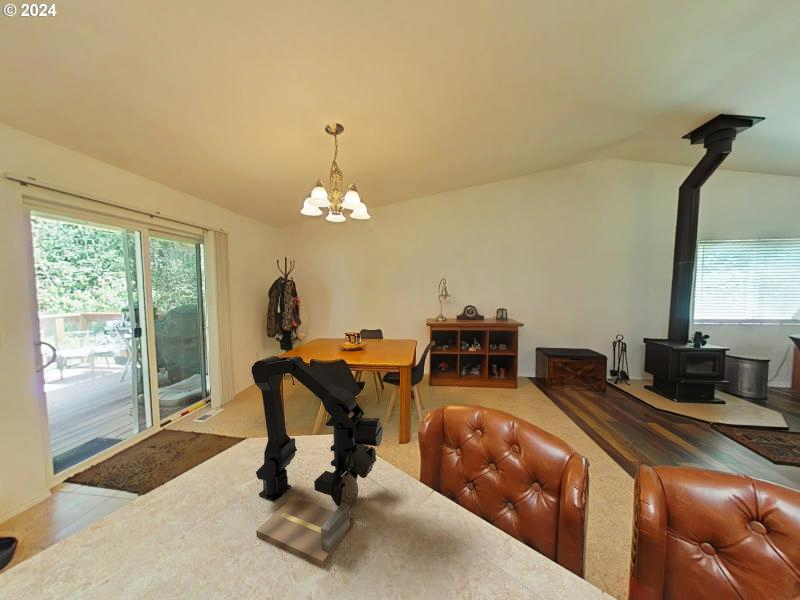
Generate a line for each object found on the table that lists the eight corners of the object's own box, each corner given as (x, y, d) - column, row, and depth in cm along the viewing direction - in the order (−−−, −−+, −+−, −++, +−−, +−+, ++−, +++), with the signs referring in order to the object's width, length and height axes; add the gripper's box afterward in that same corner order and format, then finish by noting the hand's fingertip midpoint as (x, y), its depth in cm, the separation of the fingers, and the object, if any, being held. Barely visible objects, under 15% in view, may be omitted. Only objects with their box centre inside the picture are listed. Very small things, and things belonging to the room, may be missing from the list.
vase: (353, 515, 74) (352, 482, 74) (328, 511, 75) (327, 479, 75) (362, 496, 81) (361, 466, 80) (339, 493, 82) (338, 463, 82)
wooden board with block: (256, 536, 68) (255, 510, 68) (293, 501, 79) (292, 479, 79) (323, 567, 60) (322, 538, 60) (354, 524, 71) (353, 499, 71)
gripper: (349, 467, 66) (351, 533, 66) (385, 430, 83) (387, 482, 83) (311, 457, 70) (313, 518, 71) (353, 424, 87) (354, 473, 88)
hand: (345, 496), depth 78 cm, fingers closed on vase, 6 cm apart
